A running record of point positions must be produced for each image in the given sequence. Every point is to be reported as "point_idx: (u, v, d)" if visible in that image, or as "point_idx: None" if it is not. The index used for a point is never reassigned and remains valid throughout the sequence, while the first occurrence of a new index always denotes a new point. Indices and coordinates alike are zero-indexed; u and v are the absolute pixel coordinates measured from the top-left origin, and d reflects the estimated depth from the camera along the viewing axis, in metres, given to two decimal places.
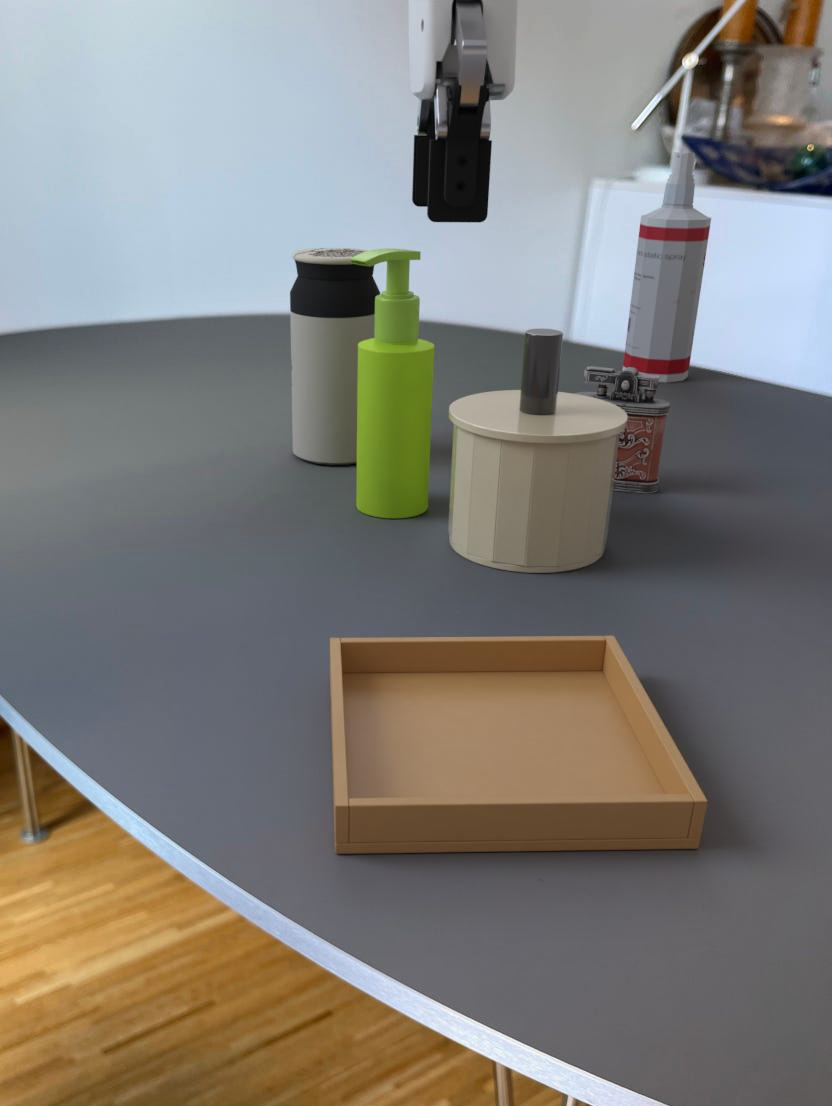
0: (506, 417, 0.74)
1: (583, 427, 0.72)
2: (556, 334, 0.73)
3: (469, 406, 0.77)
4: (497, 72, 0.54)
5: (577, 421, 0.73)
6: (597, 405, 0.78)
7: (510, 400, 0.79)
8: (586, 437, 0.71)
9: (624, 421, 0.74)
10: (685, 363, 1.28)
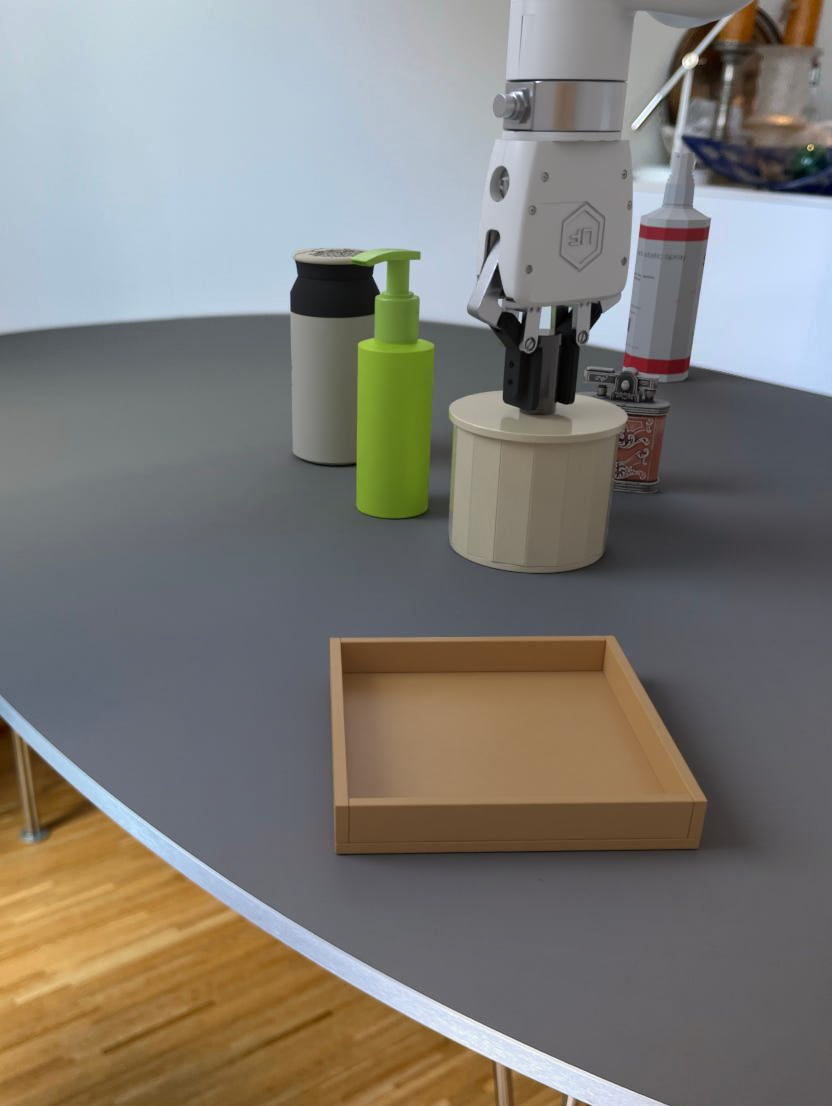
0: (506, 417, 0.74)
1: (583, 427, 0.72)
2: (556, 334, 0.73)
3: (469, 406, 0.77)
4: (506, 288, 0.68)
5: (577, 421, 0.73)
6: (597, 405, 0.78)
7: None
8: (586, 437, 0.71)
9: (624, 421, 0.74)
10: (685, 363, 1.28)
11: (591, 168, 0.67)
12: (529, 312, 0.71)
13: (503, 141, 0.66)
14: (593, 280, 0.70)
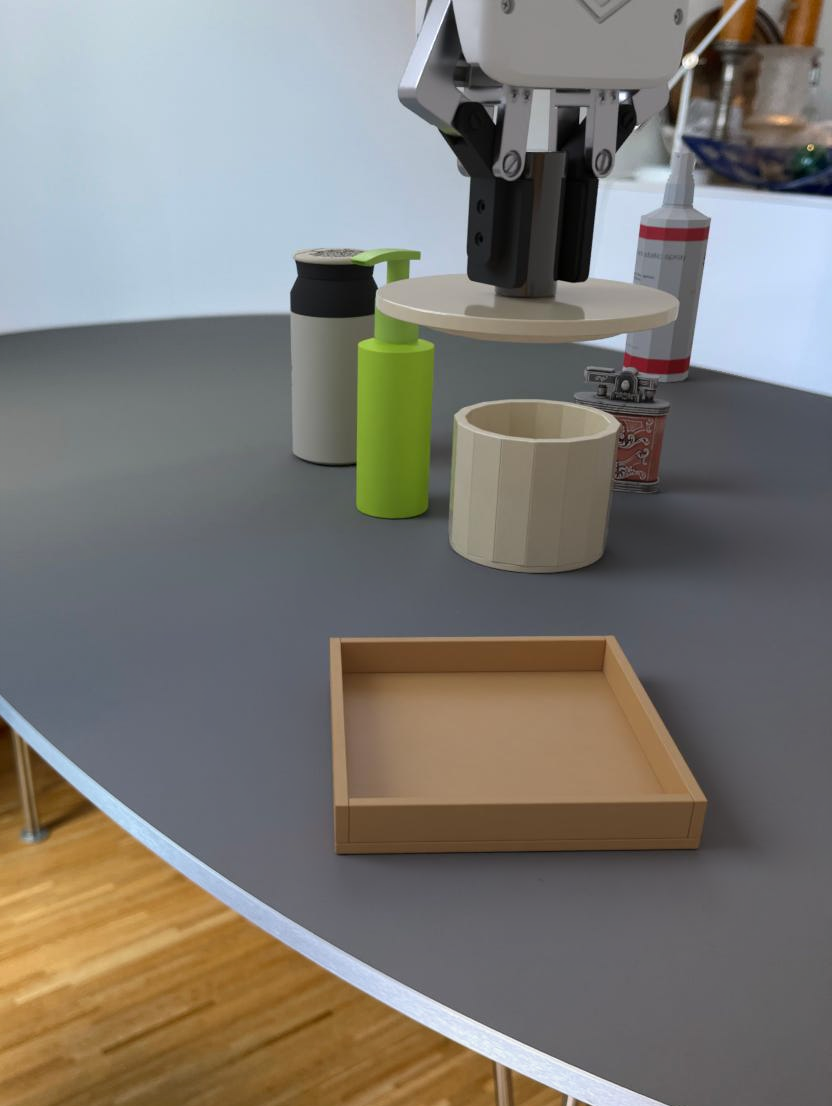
0: (471, 300, 0.43)
1: (604, 311, 0.41)
2: (557, 151, 0.42)
3: (411, 288, 0.46)
4: (467, 46, 0.37)
5: (593, 305, 0.42)
6: (625, 289, 0.46)
7: (481, 283, 0.48)
8: (610, 326, 0.40)
9: (674, 306, 0.43)
10: (685, 363, 1.28)
11: None
12: (510, 102, 0.39)
13: None
14: (625, 44, 0.39)
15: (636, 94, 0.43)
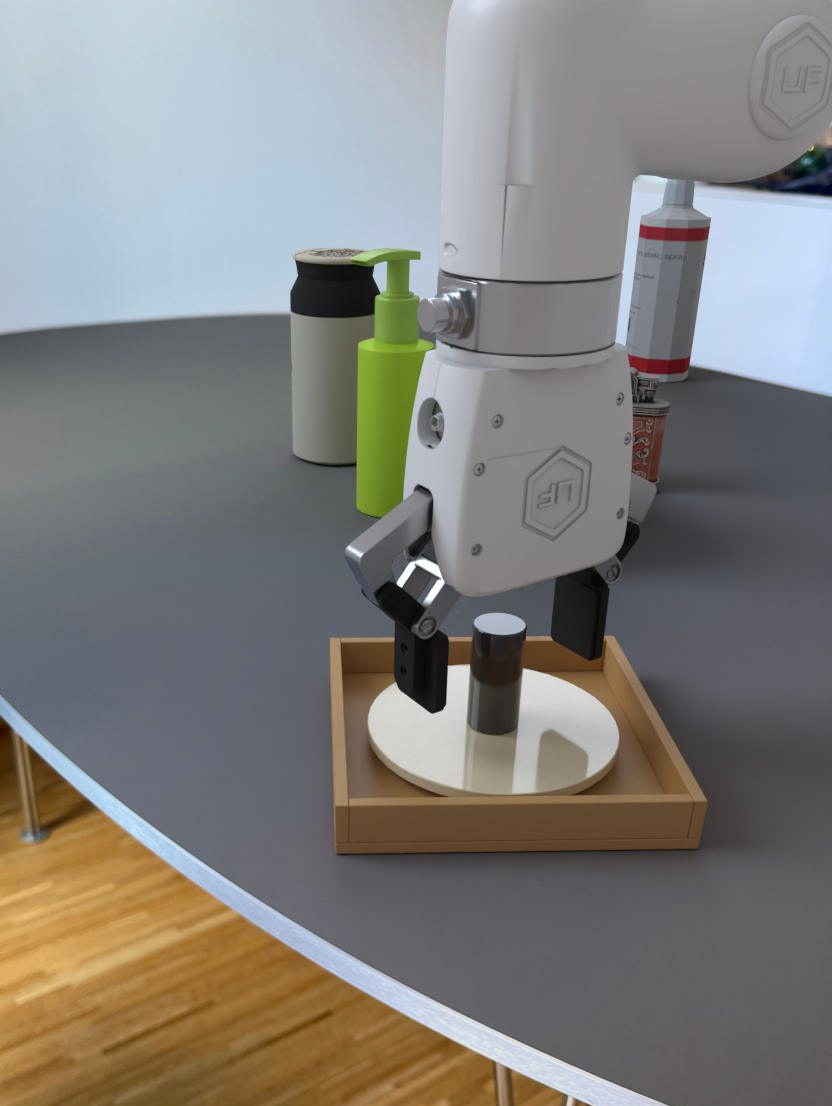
0: (446, 741, 0.52)
1: (555, 769, 0.50)
2: (516, 631, 0.50)
3: (397, 710, 0.55)
4: (444, 573, 0.46)
5: (547, 752, 0.51)
6: (577, 706, 0.55)
7: (456, 693, 0.56)
8: (559, 793, 0.49)
9: (615, 751, 0.51)
10: (685, 363, 1.28)
11: (570, 399, 0.44)
12: None
13: (435, 362, 0.44)
14: (576, 547, 0.48)
15: (630, 512, 0.52)
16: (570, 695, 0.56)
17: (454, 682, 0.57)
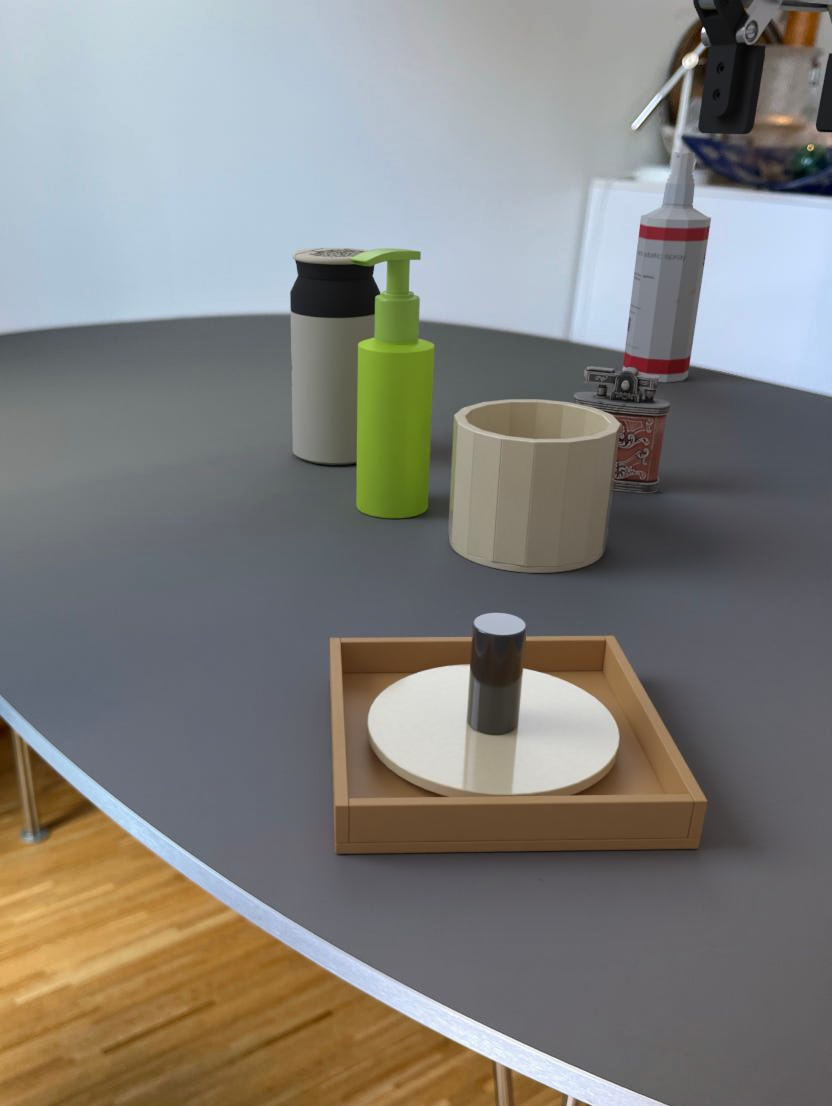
0: (446, 741, 0.52)
1: (555, 769, 0.50)
2: (516, 631, 0.50)
3: (397, 710, 0.55)
4: None
5: (547, 752, 0.51)
6: (577, 706, 0.55)
7: (456, 693, 0.56)
8: (559, 793, 0.49)
9: (615, 751, 0.51)
10: (685, 363, 1.28)
11: None
12: None
13: None
14: None
15: None
16: (570, 695, 0.56)
17: (454, 682, 0.57)
